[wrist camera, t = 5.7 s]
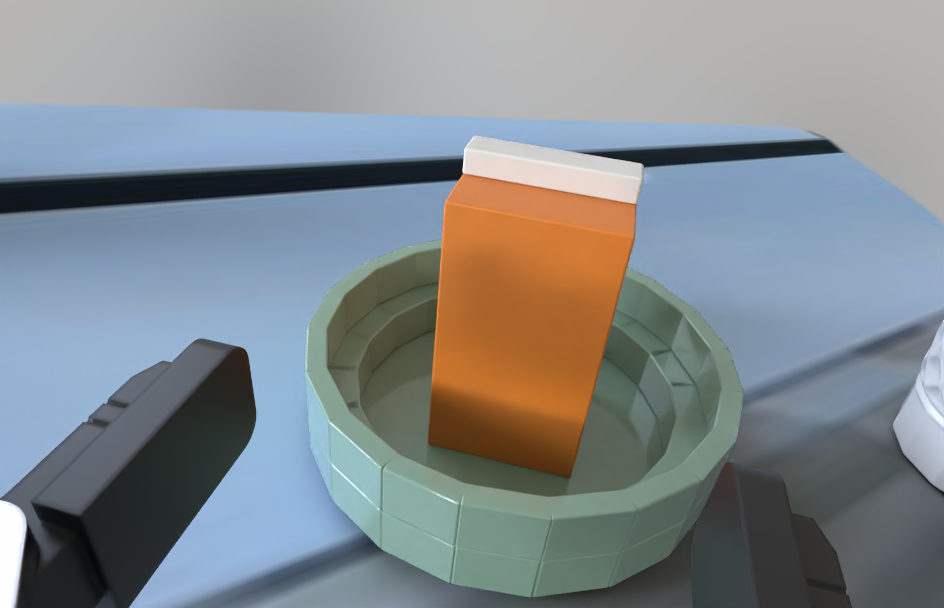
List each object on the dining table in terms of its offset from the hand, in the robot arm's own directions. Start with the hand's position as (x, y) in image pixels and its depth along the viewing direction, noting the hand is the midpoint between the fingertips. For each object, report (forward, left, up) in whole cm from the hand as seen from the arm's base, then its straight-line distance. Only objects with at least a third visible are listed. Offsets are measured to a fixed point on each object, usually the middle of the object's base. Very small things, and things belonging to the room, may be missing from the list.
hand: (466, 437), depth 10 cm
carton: (-5, +9, -9) cm, 13 cm away
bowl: (-5, +9, -9) cm, 13 cm away
